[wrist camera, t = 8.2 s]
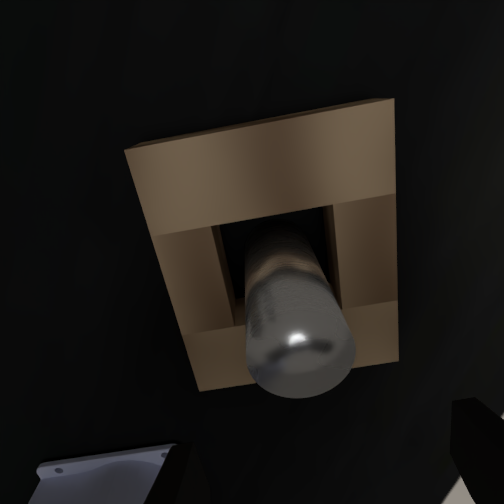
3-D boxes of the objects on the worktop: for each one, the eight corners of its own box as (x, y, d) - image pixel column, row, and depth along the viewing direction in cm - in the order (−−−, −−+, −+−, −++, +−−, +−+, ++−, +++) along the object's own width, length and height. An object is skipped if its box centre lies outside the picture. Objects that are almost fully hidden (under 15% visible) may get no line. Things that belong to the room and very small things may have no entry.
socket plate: (204, 358, 20) (199, 391, 18) (141, 142, 16) (124, 150, 13) (380, 330, 20) (398, 360, 17) (371, 98, 15) (393, 98, 13)
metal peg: (253, 284, 18) (260, 407, 11) (237, 228, 17) (233, 324, 10) (313, 270, 18) (362, 386, 11) (302, 211, 17) (347, 298, 10)
